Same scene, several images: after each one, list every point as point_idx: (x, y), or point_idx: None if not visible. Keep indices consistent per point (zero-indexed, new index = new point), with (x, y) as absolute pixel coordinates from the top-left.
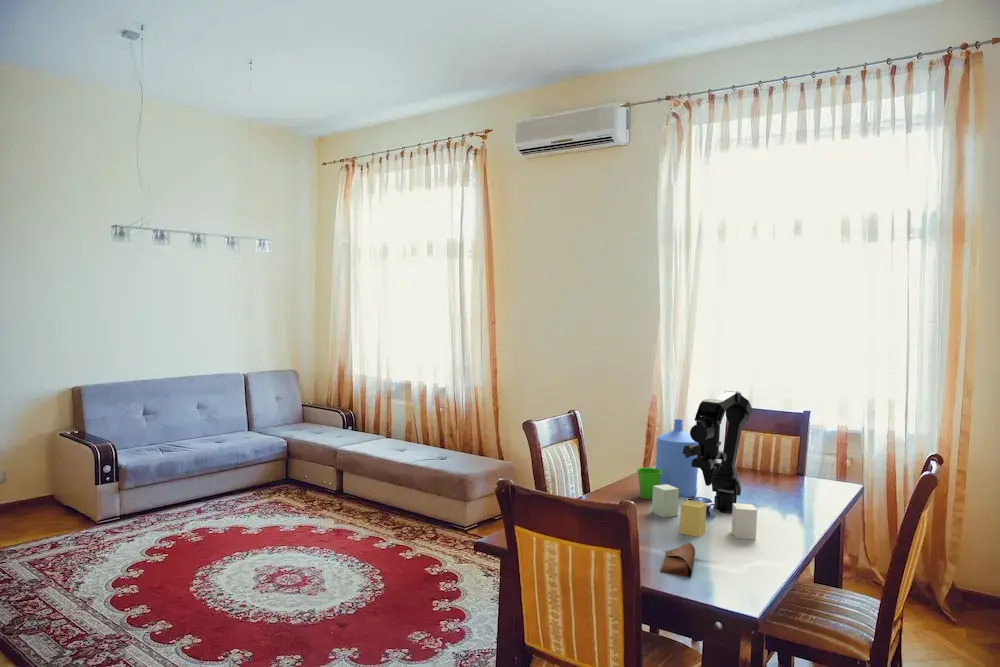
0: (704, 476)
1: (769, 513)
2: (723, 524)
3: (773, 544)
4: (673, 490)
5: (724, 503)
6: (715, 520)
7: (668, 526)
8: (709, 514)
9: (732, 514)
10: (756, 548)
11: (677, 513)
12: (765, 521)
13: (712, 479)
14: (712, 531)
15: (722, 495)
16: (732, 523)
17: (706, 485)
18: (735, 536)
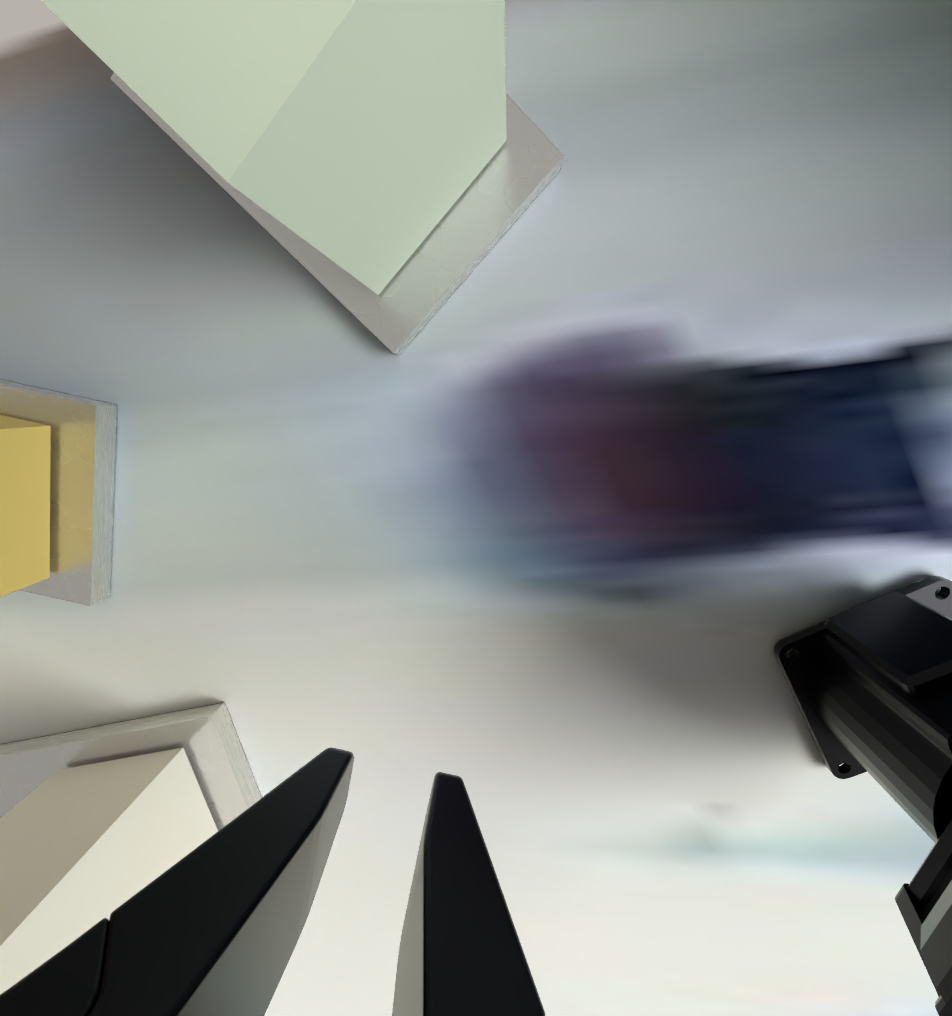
0: (116, 931)
1: (902, 964)
2: (438, 673)
3: None
4: (129, 85)
5: (857, 715)
6: (517, 613)
7: (130, 257)
8: (678, 556)
9: (58, 872)
10: None
11: (369, 287)
12: (665, 929)
13: (396, 994)
14: (217, 608)
15: (935, 750)
16: (107, 807)
17: (327, 758)
18: (49, 780)
